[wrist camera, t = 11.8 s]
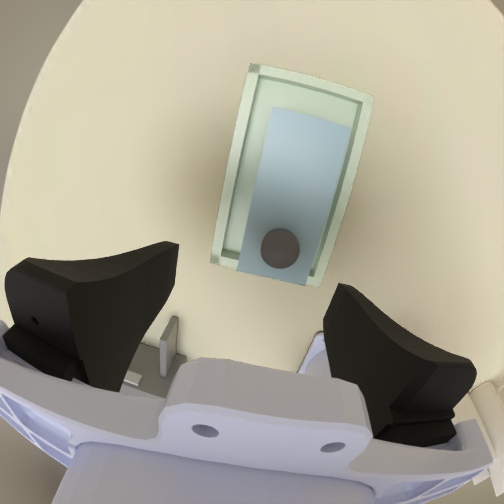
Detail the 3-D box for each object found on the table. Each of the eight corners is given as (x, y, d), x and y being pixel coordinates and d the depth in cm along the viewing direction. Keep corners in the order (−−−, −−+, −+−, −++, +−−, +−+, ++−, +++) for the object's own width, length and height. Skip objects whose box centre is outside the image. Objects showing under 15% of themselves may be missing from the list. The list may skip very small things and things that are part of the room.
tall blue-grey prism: (329, 131, 17) (354, 127, 11) (298, 249, 21) (306, 292, 15) (273, 116, 17) (272, 104, 11) (246, 237, 21) (234, 276, 15)
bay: (189, 320, 25) (170, 365, 19) (185, 371, 28) (170, 413, 22) (106, 295, 25) (75, 331, 19) (112, 347, 28) (89, 383, 22)
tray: (366, 99, 16) (374, 96, 15) (316, 276, 22) (319, 287, 20) (252, 69, 16) (250, 63, 15) (214, 253, 22) (209, 262, 20)
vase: (497, 375, 27) (541, 462, 8) (481, 401, 29) (516, 483, 11) (447, 397, 28) (486, 503, 10) (433, 422, 31) (461, 517, 13)
